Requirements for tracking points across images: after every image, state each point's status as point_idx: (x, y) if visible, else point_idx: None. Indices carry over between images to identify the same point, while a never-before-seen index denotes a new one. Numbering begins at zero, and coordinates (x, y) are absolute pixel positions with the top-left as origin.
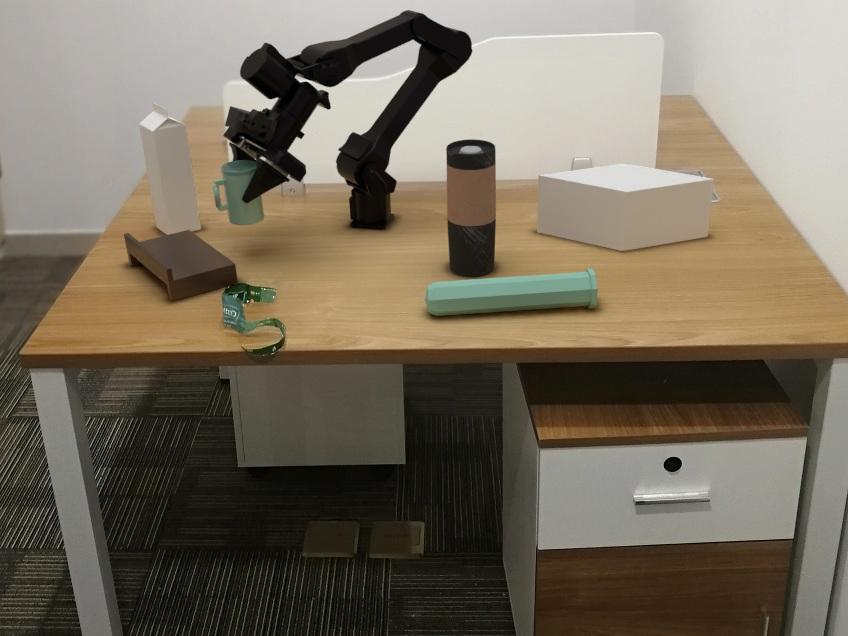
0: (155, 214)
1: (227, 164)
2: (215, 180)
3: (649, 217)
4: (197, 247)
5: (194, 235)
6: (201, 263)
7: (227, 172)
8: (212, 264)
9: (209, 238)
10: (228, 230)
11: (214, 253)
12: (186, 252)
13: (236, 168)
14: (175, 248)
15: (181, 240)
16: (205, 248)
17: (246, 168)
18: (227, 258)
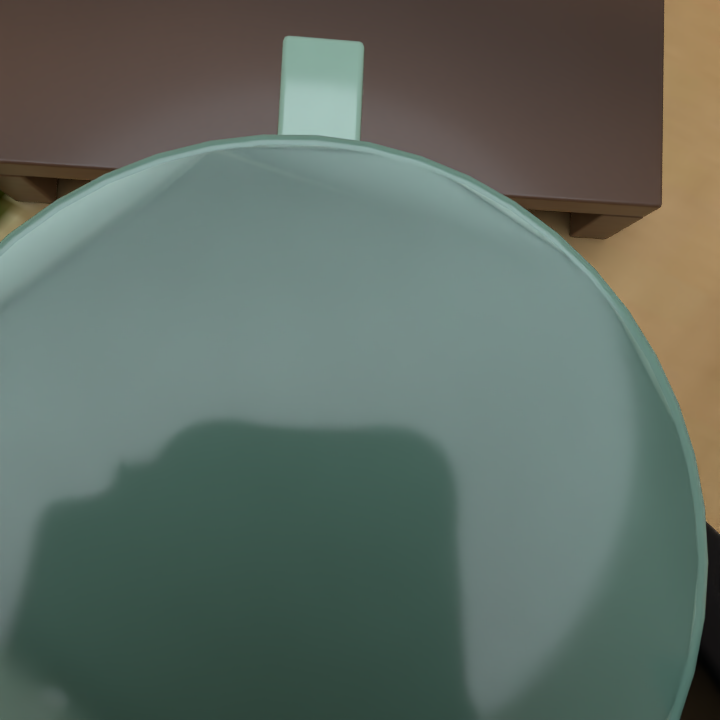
0: None
1: (567, 384)
2: (337, 58)
3: None
4: None
5: (547, 186)
6: (101, 4)
7: (150, 164)
8: (40, 46)
9: (674, 379)
10: (715, 518)
11: (192, 139)
12: (326, 21)
13: (175, 405)
14: (429, 1)
15: (523, 88)
16: None
17: None
18: (58, 159)
